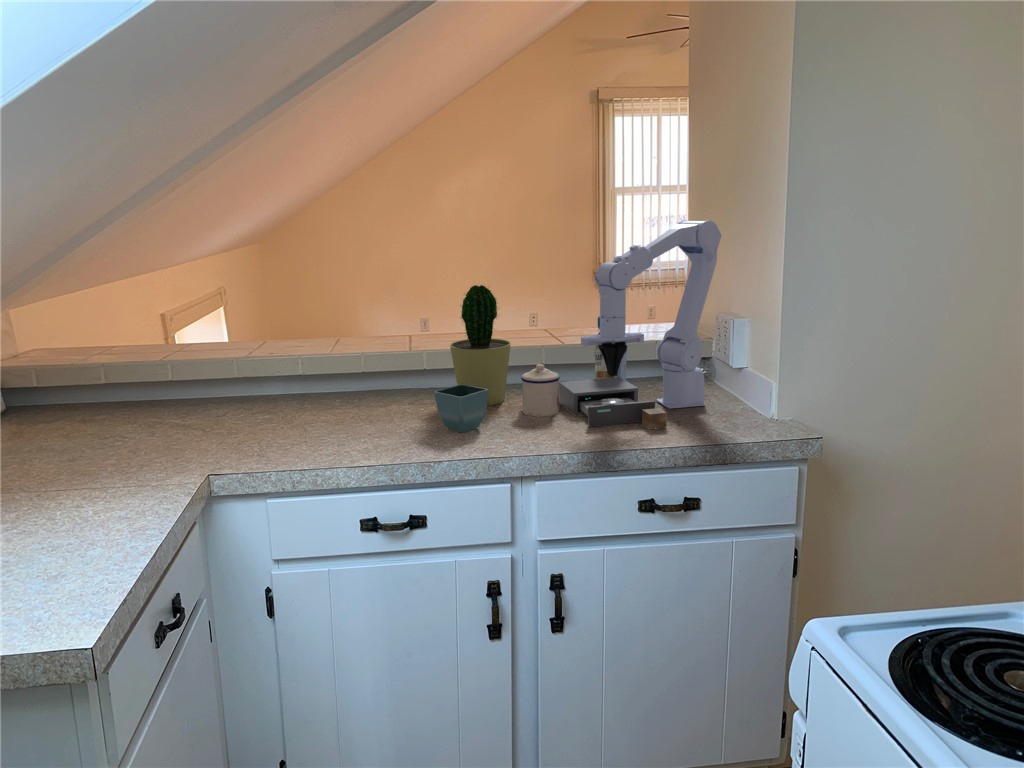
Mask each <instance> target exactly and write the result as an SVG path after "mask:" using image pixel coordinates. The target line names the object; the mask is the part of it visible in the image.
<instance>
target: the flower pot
mask: <svg viewBox="0 0 1024 768" xmlns="http://www.w3.org/2000/svg"><path fill="white" fill-rule="evenodd" d="M433 395H434V398H435V403H436V404H435V405H436V409H437V412H438V415H439V417H440V420H441V422H442V423H443V425H444V426H445V427H446V428H447V429H448V430H451V431H455V432H458V433H461V434H462V433H466V432H469V431H472V430H476V429H477V428H479V427H480V425H481V424H482V422H483V420H484V419H485V416H486V412H487V408H488V406H487V397H488V389H485V388H479V387H474V386H469V385H463V384H461V385H457V384H456V385H454V386H450V387H445V388H442V389H438V390H435V391H434V393H433Z"/></svg>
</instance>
